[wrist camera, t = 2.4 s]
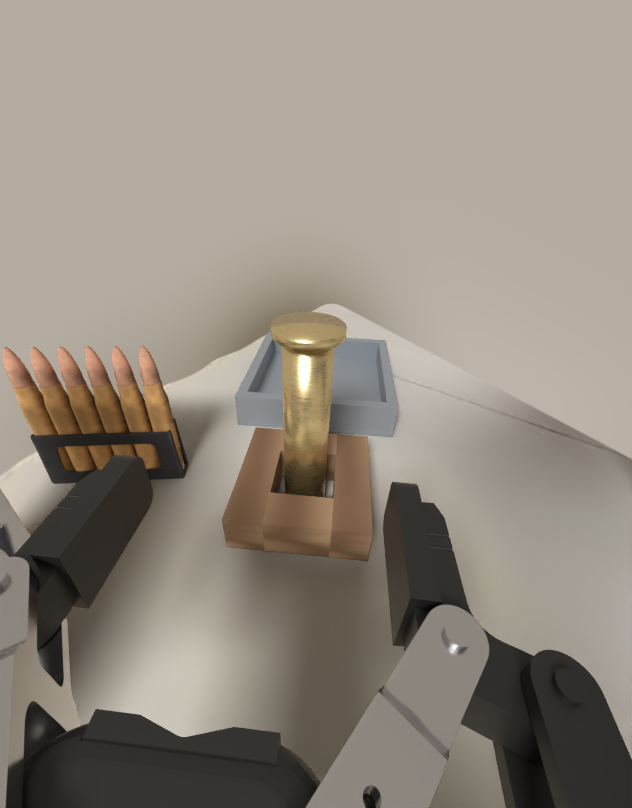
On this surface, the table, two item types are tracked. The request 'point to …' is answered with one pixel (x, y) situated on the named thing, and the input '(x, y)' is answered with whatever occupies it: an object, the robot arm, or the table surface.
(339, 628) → the table surface
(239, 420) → the slate tray
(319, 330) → the pin
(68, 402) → the ammunition clip
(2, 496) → the hard drive box
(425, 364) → the table surface
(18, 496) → the table surface
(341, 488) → the socket block
